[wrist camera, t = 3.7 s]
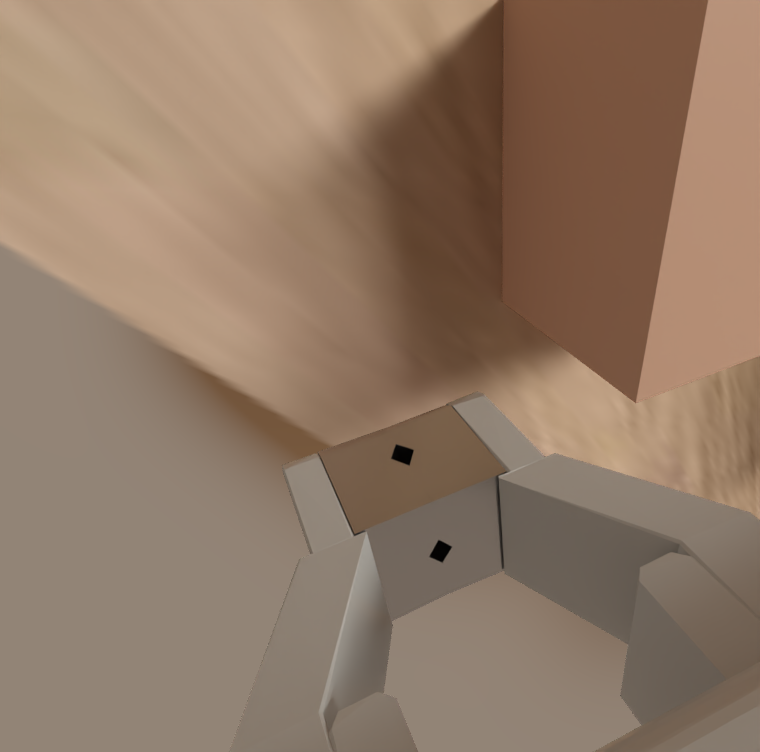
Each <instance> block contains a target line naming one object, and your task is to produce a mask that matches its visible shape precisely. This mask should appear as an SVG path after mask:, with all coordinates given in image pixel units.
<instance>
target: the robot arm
mask: <svg viewBox="0 0 760 752" xmlns="http://www.w3.org/2000/svg"><path fill="white" fill-rule="evenodd" d="M282 469H283V474H284V477H285V480H286V483H287V486H288V489H289V492H290V495H291V498H292V501H293V504H294V507H295V510H296V513H297V516H298V519H299V522H300V525H301V528H302V531H303V534H304V537H305V540H306V543H307V546H308V549H309V552H310V555H308V556H306V557H303V558H301V559H299V561H298V564H297V567H296V569H295V572H294V575H293V578H292V580H291V583H290V586H289V589H288V591H287V594H286V597H285V600H284V602H283V605H282V608H281V611H280V613H279V616H278V619H277V622H276V624H275V627H274V630H273V633H272V635H271V638H270V641H269V643H268V646H267V649H266V652H265V654H264V657H263V660H262V663H261V665H260V668H259V671H258V674H257V677H256V679H255V682H254V685H253V688H252V690H251V693H250V696H249V698H248V701H247V704H246V707H245V710H244V712H243V715H242V718H241V720H240V724H239V726H238V729H237V732H236V734H235V737H234V740H233V742H232V745H231V748H230V751H229V752H418V751H417V748H416V745H415V743H414V741H413V738H412V736H411V733H410V731H409V728H408V726H407V723H406V721H405V718H404V716H403V713H402V711H401V708H400V706H399V703H398V701H397V698H395V697H392V696H389V695H385V694H384V686H385V679H386V671H387V664H388V656H389V649H390V641H391V634H392V626H393V625H392V621H393V620H395V619H397V618H399V617H401V616H404V615H406V614H408V613H410V612H411V611H414V610H416V609H418V608H420V607H422V606H424V605H426V604H428V603H430V602H432V601H434V600H436V599H439V598H441V597H443V596H445V595H447V594H449V593H451V592H454V591H456V590H459V589H461V588H463V587H466V586H468V585H471V584H473V583H475V582H478V581H480V580H482V579H485V578H487V577H490V576H492V575H494V574H497V573H499V572H502V571H505V574H506V575H508V576H510V577H512V578H513V579H515V580H517V581H519V582H520V583H522V584H524V585H525V586H527V587H529V588H531V589H533V590H534V591H536V592H538V593H539V594H541V595H543V596H545V597H547V598H548V599H550V600H552V601H554V602H555V603H557V604H559V605H560V606H562V607H564V608H566V609H568V610H569V611H571V612H573V613H574V614H576V615H578V616H580V617H581V618H583V619H585V620H587V621H588V622H590V623H592V624H593V625H595V626H597V627H599V628H601V629H602V630H604V631H606V632H607V633H609V634H611V635H613V636H615V637H616V638H618V639H620V640H621V641H623V642H625V643H627V644H628V649H627V655H626V663H625V669H624V675H623V682H622V689H621V695H620V696H621V697H622V699H623V700H624V701H625V703H626V704H627V706H628V707H629V708H630V710H631V711H632V713H633V714H634V715H635V717H636V718H637V720H638V721H639V722H640V724H641V725H642V726H640V727H638V728H636V729H634V730H632V731H631V732H629V733H627V734H625V735H623V736H622V737H620V738H618V739H616V740H614V741H612V742H610V743H608V744H607V745H605V746H603V747H601V748H599V749H598V750H596V751H594V752H760V520H759V519H758V518H756V517H755V516H754V515H753V514H751V513H750V512H747V511H744V510H741V509H738V508H734V507H731V506H728V505H724V504H721V503H718V502H714V501H711V500H708V499H705V498H701V497H698V496H695V495H691V494H688V493H685V492H681V491H678V490H675V489H672V488H668V487H665V486H662V485H658V484H655V483H652V482H648V481H645V480H642V479H639V478H635V477H632V476H629V475H625V474H622V473H619V472H616V471H612V470H609V469H606V468H602V467H599V466H596V465H592V464H589V463H586V462H583V461H579V460H576V459H573V458H569V457H566V456H563V455H559V454H556V453H554V454H552V455H549V456H547V457H545V456H544V455H543V454H542V453H541V452H540V451H539V450H538V449H537V448H536V447H535V446H534V445H533V444H532V443H531V442H530V441H529V440H528V438H527V437H526V436H525V435H524V434H523V433H522V432H521V431H520V430H519V429H518V428H517V427H516V426H515V425H514V424H513V423H512V422H511V421H510V420H509V419H508V418H507V417H506V416H505V415H504V414H503V413H502V412H501V411H500V410H499V409H498V408H497V407H496V406H495V405H494V404H493V403H492V402H491V401H490V400H489V399H488V398H487V396H486V395H485V394H483V393H480V392H475V393H472V394H470V395H467V396H465V397H462V398H460V399H457V400H455V401H452V402H450V403H447V404H446V405H445V406H442V407H439V408H436V409H434V410H431V411H429V412H426V413H423V414H421V415H418V416H416V417H413V418H410V419H408V420H405V421H403V422H400V423H397V424H395V425H392V426H390V427H387V428H384V429H381V430H379V431H376V432H373V433H370V434H367V435H364V436H362V437H359V438H356V439H353V440H350V441H347V442H344V443H342V444H339V445H336V446H333V447H330V448H327V449H325V450H322V451H319V452H318V455H317V454H316V453H315V454H312V455H310V456H307V457H304V458H301V459H298V460H295V461H293V462H290V463H287V464H284V465H282Z"/></svg>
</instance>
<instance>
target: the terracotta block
mask: <svg viewBox="0 0 760 752" xmlns="http://www.w3.org/2000/svg"><path fill="white" fill-rule="evenodd" d="M502 302H503V303H504V304H506V305H507V306H508V307H510V308H511V309H512V310H514V311H515V312H516V313H518V314H519V315H520V316H522V317H523V318H524V319H526V320H527V321H528V322H530V323H531V324H532V325H533V326H535V327H536V328H537V329H539V330H540V331H541V332H543V333H544V334H545V335H547V336H548V337H549V338H551V339H552V340H553V341H555V342H556V343H557V344H558V345H560V346H561V347H562V348H564V349H565V350H566V351H568V352H569V353H570V354H572V355H573V356H574V357H576V358H577V359H578V360H580V361H581V362H582V363H584V364H585V365H586V366H587V367H589V368H590V369H591V370H593V371H594V372H595V373H597V374H598V375H599V376H601V377H602V378H603V379H605V380H606V381H607V382H609V383H610V384H611V385H612V386H614V387H615V388H616V389H618V390H619V391H620V392H622V393H623V394H624V395H626V396H627V397H628V398H630V399H631V400H632V401H634V402H635V403H638V402H640V401H643V400H646V399H648V398H651V397H653V396H656V395H659V394H661V393H664V392H667V391H669V390H672V389H674V388H677V387H680V386H682V385H685V384H688V383H690V382H693V381H695V380H698V379H701V378H703V377H706V376H709V375H711V374H714V373H716V372H719V371H722V370H724V369H727V368H730V367H732V366H735V365H737V364H740V363H743V362H745V361H748V360H751V359H753V358H756V357H758V356H760V0H504V8H503V211H502Z"/></svg>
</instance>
